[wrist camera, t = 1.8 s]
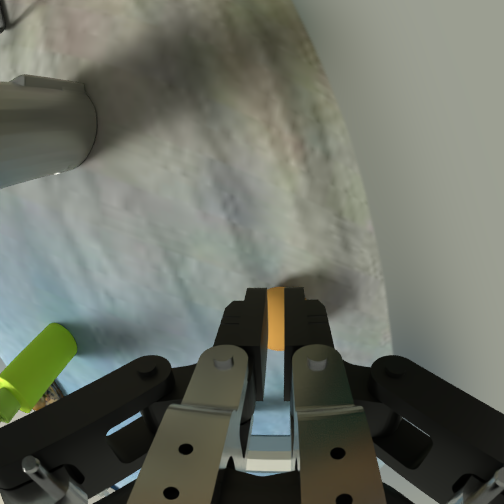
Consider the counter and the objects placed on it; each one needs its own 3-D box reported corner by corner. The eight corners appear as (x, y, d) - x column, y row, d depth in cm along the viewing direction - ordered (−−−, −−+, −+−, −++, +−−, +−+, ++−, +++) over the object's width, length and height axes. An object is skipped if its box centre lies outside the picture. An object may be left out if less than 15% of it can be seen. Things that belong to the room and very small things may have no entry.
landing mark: (236, 434, 39) (236, 435, 39) (323, 434, 38) (324, 435, 38) (243, 470, 44) (243, 471, 43) (315, 471, 42) (315, 471, 42)
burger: (40, 357, 39) (17, 383, 32) (76, 406, 43) (59, 433, 36) (11, 359, 42) (-10, 380, 35) (43, 403, 45) (26, 426, 38)
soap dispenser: (79, 331, 35) (-5, 432, 16) (76, 361, 37) (7, 455, 19) (47, 310, 35) (-41, 398, 16) (47, 342, 37) (-26, 425, 18)
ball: (249, 276, 30) (242, 307, 24) (310, 275, 29) (317, 306, 24) (252, 327, 32) (247, 363, 26) (309, 326, 31) (313, 363, 26)
